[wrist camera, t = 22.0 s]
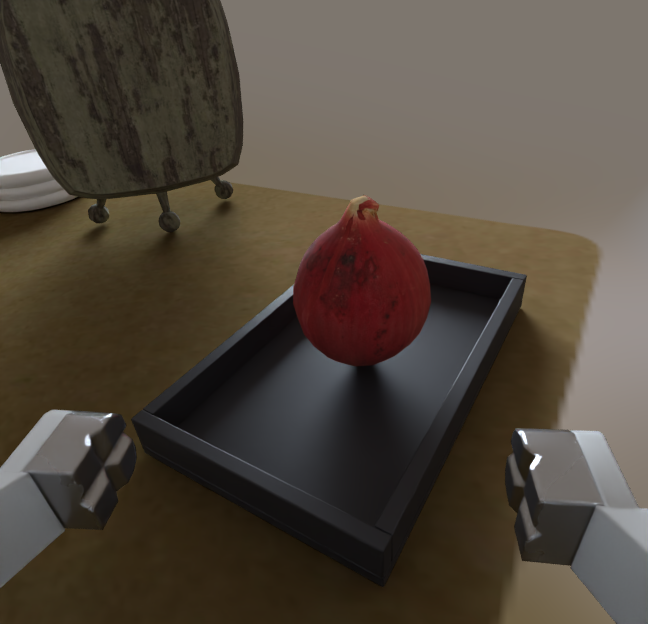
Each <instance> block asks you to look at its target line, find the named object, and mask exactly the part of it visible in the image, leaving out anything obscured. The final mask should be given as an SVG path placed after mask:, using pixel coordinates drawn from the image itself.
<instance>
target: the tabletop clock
mask: <svg viewBox="0 0 648 624" xmlns="http://www.w3.org/2000/svg"><path fill="white" fill-rule="evenodd" d="M0 64H1V67H2V70H3V73H4V76H5V79H6V82H7V85H8V88H9V91H10V95H11V98H12V101H13V104H14V106H15V108H16V110H17V112H18V114H19V116H20V118H21V120H22V122H23V124H24V126H25V128H26V130H27V132H28V135H29V137H30V139H31V141H32V142H33V144H34V147H35V149H36V151H37V153H38V155H39V156H40V158H41V160H42V161H43V163H44V164H45V166H46V168H47V169H48V171H49V172H50V174H51V175H52V177H53V178H54V179H55V180H56V181H57V182H58V183H59V184H60V186H61V187H62V188H63V189H64V190H65V191H66V192H67V193H68V194H69V195H73V196H79V197H84V198H90V199H97V204H94V205H92V206H91V207H90V208H89V210H88V214H89V218H90V219H91V220H92V221H94V222H95V223H104V222H106V221H107V219H108V218H109V212H108V209H107V208H106V207H105V206H104V205H105V202H106V199H111V198H121V197H130V196H138V195H147V194H155V193H156V194H157V197H158V199H159V202H160V204H161V207H162V209H163V212H164V213H162V214H161V215H160V217H159V225H160V227H161V228H162V229H163V230H165V231H167V232H174V231H175V230H177V229H178V228H179V225H180V219H179V217H178V215H177V214H176V213H174V212H171V211H170V207H169V202H168V197H167V191H170V190H174V189H178V188H182V187H186V186H189V185H193V184H197V183H201V182H204V181H208V180H212V182H213V183H214V184H215V185H216V186H215V192H216V195H217V196H218V197H220V198H221V199H227V198H229V197H230V196H231V195H232V193H233V188H232V185H231V184H230V183H229V182H227V181H220V179H219V176H221V175H223V174H225V173H226V172H228V171H229V170H231V169H232V168H234V167H235V166H237V165H238V163H239V159H240V154H241V150H242V146H243V114H242V102H241V91H240V79H239V72H238V67H237V63H236V58H235V54H234V49H233V45H232V40H231V36H230V31H229V27H228V23H227V20H226V17H225V13H224V10H223V7H222V4H221V1H220V0H0Z"/></svg>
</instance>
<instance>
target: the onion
mask: <svg viewBox="0 0 648 624" xmlns="http://www.w3.org/2000/svg"><path fill="white" fill-rule="evenodd" d="M378 208H379V204H377V203H376V202H375V201H374V200H372V199H371V198H370V197H368V196H366V195H363V196H361V197H357V198H355V199H352V200H351V202H350V203H349V205H348V207H347V209H346V211H345V212H344V214H343V216H342V218H341V220H340V221H339V222H338V223H337V224H335V225H334V226H332V227H330V228H329V229H328V230H326V231H325V232H324V233H322V234H321V235H320V236H319V237H318V238H317V239H316V240H315V241H314V242H313V243H312V244H311V246H310V247H309V248H308V250H307V251H306V252H305V254H304V256H303V259H302V261H301V263H300V266H299V269H298V273H297V277H296V280H295V284H294V287H293V305H294V308H295V311H296V314H297V317H298V320H299V323H300V325H301V328H302V330H303V333H304V335H305V336H306V337H307V339H308V340H309V341H310V342H311V343H312V345H313V346H314V347H315V348H317V349H318V350H319V351H320V352H322V353H323V354H324V355H325V356H327V357H328V358H330V359H332V360H334V361H337V362H340V363H344V364H347V365H351V366H370V365H375V364H377V363H380V362H383V361H385V360H388V359H390V358H392V357H394V356H395V355H397V354H398V353H399V352H401V351H402V350H403V349H405V348H406V347H407V346H409V345H410V344H411V343H412V342H413V340H414V339H415V338H416V337H417V336H418V335H419V334H420V332H421V330H422V327H423V325H424V323H425V321H426V319H427V316H428V312H429V308H430V304H431V293H430V283H429V277H428V272H427V269H426V266H425V263H424V260H423V258H422V256H421V254H420V253H419V251H418V249H417V248H416V247H415V246H414V245H413V244H412V242H411V241H410V240H409V239H408V238H406V237H405V236H404V235H403V234H402V233H401V232H399V231H398V230H396V229H395V228H393V227H392V226H390V225H388V224H387V223H385V222H383V221H380V220H378V216H377V213H376V212H377V211H378Z"/></svg>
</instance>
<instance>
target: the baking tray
mask: <svg viewBox="0 0 648 624" xmlns="http://www.w3.org/2000/svg"><path fill="white" fill-rule="evenodd" d="M421 256H422V258H423V260H424V263H425V266H426V269H427V272H428V277H429V283H430V293H431V304H430V308H429V312H428V316H427V319H426V321H425V323H424V325H423V327H422V330H421V332H420V334H419V335H418V336H417V337H416V338H415V339H414V340H413V342H412V343H411V344H410V345H409V346H407V347H406V348H405V349H403V350H402V351H401V352H399V353H398V354H397V355H395V356H394V357H392V358H390V359H388V360H385V361H383V362H380V363H377V364H375V365H370V366H351V365H347V364H344V363H340V362H337V361H334V360H332V359H330V358H328V357H327V356H325V355H324V354H323V353H322V352H320V351H319V350H318V349H317V348H315V347H314V346H313V345H312V343H311V342H310V341H309V340H308V339H307V337H306V336H305V335H304V333H303V330H302V328H301V325H300V323H299V320H298V317H297V314H296V311H295V308H294V305H293V287H294V285H293V286H291V287H290V288H289V289H288V290H287V291H285V292H284V293H283V294H282V295H281V296H279V297H278V298H277V299H276V300H274V301H273V302H272V303H271V304H270V305H268V306H267V307H266V308H265V309H264V310H262V311H261V312H260V313H259V314H257V315H256V316H255V317H254V318H253V319H251V320H250V321H249V322H248V323H247V324H245V325H244V326H243V327H242V328H240V329H239V330H238V331H237V332H236V333H234V334H233V335H232V336H231V337H230V338H228V339H227V340H226V341H225V342H223V343H222V344H221V345H220V346H219V347H217V348H216V349H215V350H214V351H213V352H211V353H210V354H209V355H208V356H206V357H205V358H204V359H203V360H202V361H200V362H199V363H198V364H197V365H196V366H194V367H193V368H192V369H191V370H189V371H188V372H187V373H186V374H185V375H183V376H182V377H181V378H180V379H179V380H177V381H176V382H175V383H174V384H172V385H171V386H170V387H169V388H168V389H166V390H165V391H164V392H163V393H162V394H160V395H159V396H158V397H157V398H155V399H154V400H153V401H152V402H151V403H149V404H148V405H147V406H146V407H145V408H143V410H141V411H140V412H139V413H138V414H136V415H135V416H134V417H133V418H132V419H131V420H132V423H133V425H134V427H135V430H136V432H137V435H138V437H139V439H140V442H141V444H142V447H143V449H144V452H145V453H146V454H148V455H150V456H152V457H153V458H155V459H157V460H159V461H161V462H162V463H164V464H166V465H168V466H169V467H171V468H173V469H175V470H176V471H178V472H180V473H182V474H183V475H185V476H187V477H189V478H191V479H192V480H194V481H196V482H198V483H199V484H201V485H203V486H205V487H206V488H208V489H210V490H212V491H214V492H215V493H217V494H219V495H221V496H222V497H224V498H226V499H228V500H229V501H231V502H233V503H235V504H237V505H238V506H240V507H242V508H244V509H245V510H247V511H249V512H251V513H252V514H254V515H256V516H258V517H260V518H261V519H263V520H265V521H267V522H268V523H270V524H272V525H274V526H275V527H277V528H279V529H281V530H282V531H284V532H286V533H288V534H290V535H291V536H293V537H295V538H297V539H298V540H300V541H302V542H304V543H305V544H307V545H309V546H311V547H313V548H314V549H316V550H318V551H320V552H321V553H323V554H325V555H327V556H328V557H330V558H332V559H334V560H336V561H337V562H339V563H341V564H343V565H344V566H346V567H348V568H350V569H351V570H353V571H355V572H357V573H359V574H360V575H362V576H364V577H366V578H367V579H369V580H371V581H373V582H374V583H376V584H378V585H380V586H382V587H384V586H385V584H386V582H387V580H388V578H389V575H390V573H391V571H392V569H393V567H394V565H395V563H396V561H397V559H398V557H399V555H400V553H401V551H402V549H403V547H404V545H405V543H406V541H407V539H408V537H409V534H410V532H411V530H412V528H413V526H414V524H415V522H416V520H417V518H418V516H419V514H420V512H421V510H422V508H423V506H424V504H425V502H426V500H427V498H428V496H429V494H430V491H431V489H432V487H433V485H434V483H435V481H436V479H437V477H438V475H439V473H440V471H441V469H442V467H443V465H444V463H445V461H446V459H447V457H448V455H449V453H450V451H451V448H452V446H453V444H454V442H455V440H456V438H457V436H458V434H459V432H460V430H461V428H462V426H463V424H464V422H465V420H466V418H467V416H468V414H469V412H470V410H471V408H472V405H473V403H474V401H475V399H476V397H477V395H478V393H479V391H480V389H481V387H482V385H483V383H484V381H485V379H486V377H487V375H488V373H489V371H490V369H491V367H492V364H493V362H494V360H495V358H496V356H497V354H498V352H499V350H500V348H501V346H502V344H503V342H504V340H505V338H506V336H507V334H508V332H509V330H510V328H511V326H512V324H513V321H514V319H515V317H516V315H517V313H518V311H519V309H520V307H521V304H522V298H523V293H524V288H525V282H526V277H527V276H526V275H524V274H518V273H513V272H508V271H503V270H498V269H493V268H488V267H483V266H478V265H473V264H468V263H463V262H458V261H453V260H448V259H443V258H437V257H432V256H427V255H422V254H421Z"/></svg>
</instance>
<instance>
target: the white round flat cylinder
mask: <svg viewBox="0 0 648 624" xmlns="http://www.w3.org/2000/svg"><path fill="white" fill-rule="evenodd" d="M76 197H78V196H73V195H69V194H68V193H67V192H66V191H65V190H64V189H63V188H62V187H61V186H60V184H59V183H58V182H57V181H56V180H55V179H54V178H53V177H52V175H51V174H50V172H49V171H48V169H47V168H46V166H45V164H44V163H43V161H42V160H41V158H40V156H39V155H38V153H37V151H36V149H35V150H29V151H23V152H18V153H14V154H10V155H6V156H3V157H0V212H23V211H31V210H36V209H41V208H46V207H50V206H54V205H57V204H60V203H63V202H66V201H69V200H71V199H74V198H76Z"/></svg>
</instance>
